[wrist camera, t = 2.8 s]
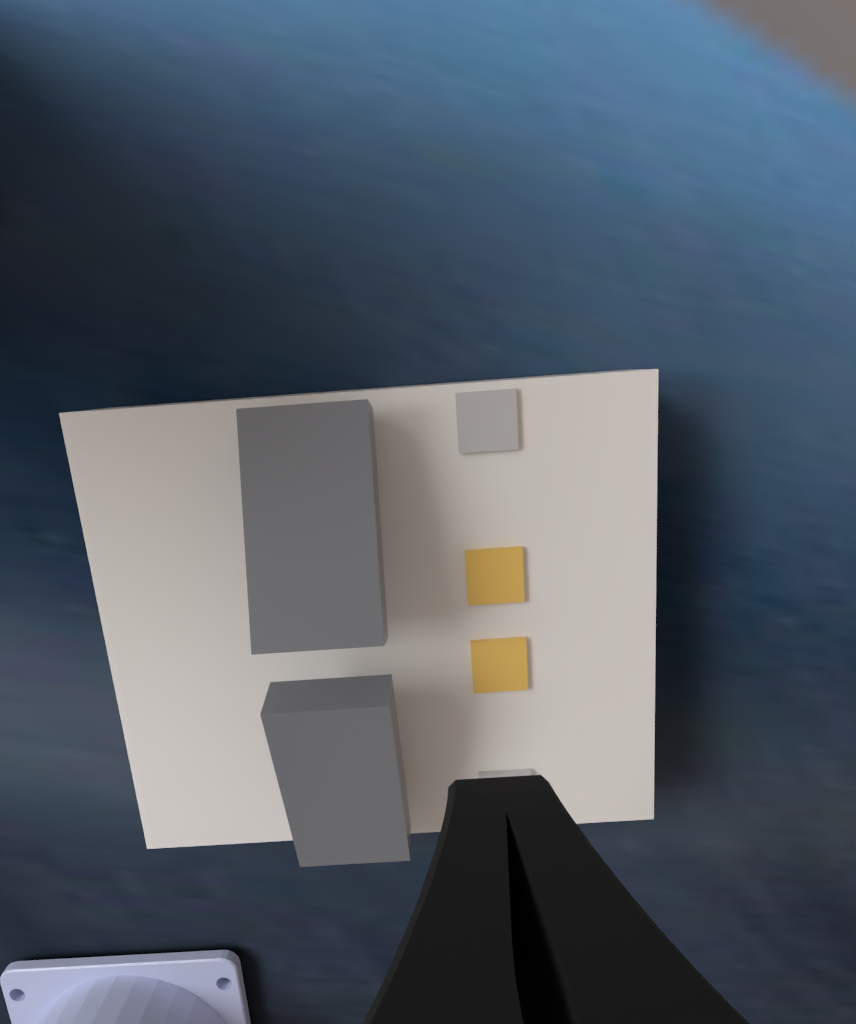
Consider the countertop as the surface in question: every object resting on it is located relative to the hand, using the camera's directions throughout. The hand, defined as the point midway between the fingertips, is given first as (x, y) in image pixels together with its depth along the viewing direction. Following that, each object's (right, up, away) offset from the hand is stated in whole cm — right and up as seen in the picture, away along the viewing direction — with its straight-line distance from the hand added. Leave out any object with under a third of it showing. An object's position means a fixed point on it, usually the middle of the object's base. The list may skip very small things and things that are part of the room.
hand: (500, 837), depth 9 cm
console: (-2, +2, +9) cm, 10 cm away
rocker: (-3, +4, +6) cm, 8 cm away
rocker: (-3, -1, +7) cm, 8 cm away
